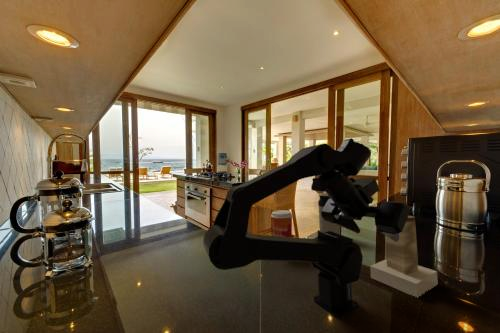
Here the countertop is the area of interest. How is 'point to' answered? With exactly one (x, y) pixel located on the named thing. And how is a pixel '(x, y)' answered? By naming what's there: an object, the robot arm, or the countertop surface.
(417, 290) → the base slab
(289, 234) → the paper cup
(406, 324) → the countertop surface
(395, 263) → the oak post
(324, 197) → the travel mug
